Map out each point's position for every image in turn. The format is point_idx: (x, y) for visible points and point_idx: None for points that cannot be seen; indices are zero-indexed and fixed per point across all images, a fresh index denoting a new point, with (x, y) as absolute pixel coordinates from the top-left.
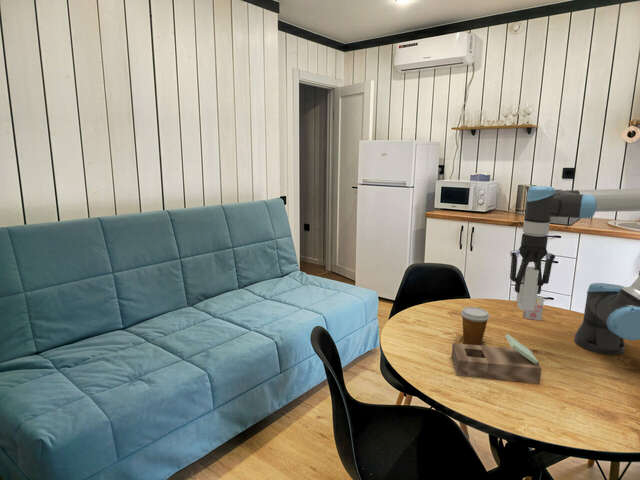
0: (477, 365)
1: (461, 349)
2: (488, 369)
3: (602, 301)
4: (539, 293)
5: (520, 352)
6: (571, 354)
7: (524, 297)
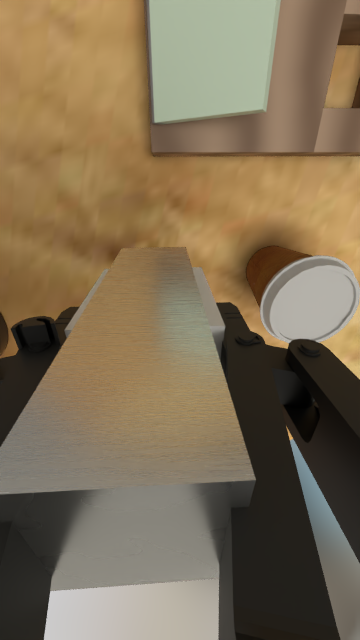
0: None
1: None
2: None
3: None
4: (71, 308)
5: None
6: (20, 255)
7: (177, 269)
